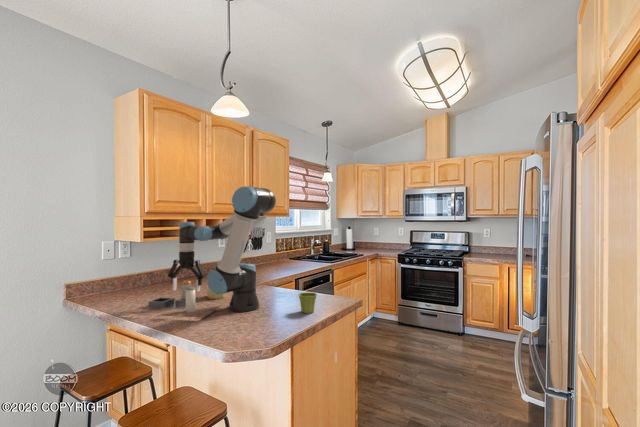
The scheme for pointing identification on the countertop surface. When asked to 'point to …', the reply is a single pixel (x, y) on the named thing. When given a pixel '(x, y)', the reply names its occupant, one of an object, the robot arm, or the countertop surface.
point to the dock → (169, 303)
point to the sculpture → (215, 295)
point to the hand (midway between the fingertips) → (186, 290)
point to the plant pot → (307, 301)
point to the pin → (184, 286)
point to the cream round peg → (190, 299)
